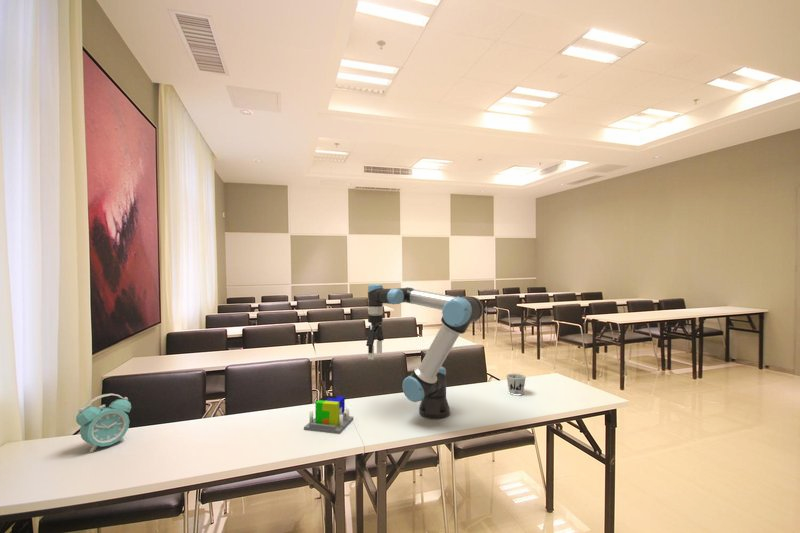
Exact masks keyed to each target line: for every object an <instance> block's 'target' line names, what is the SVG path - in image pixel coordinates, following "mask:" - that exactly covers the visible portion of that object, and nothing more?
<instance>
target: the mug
mask: <svg viewBox="0 0 800 533" xmlns="http://www.w3.org/2000/svg"><path fill="white" fill-rule="evenodd" d="M526 378H527V377H526V375H524V374H521V373H520V374H519V373H507V374H506V380H507V387H508V392H510V393H513V394H523V395H524V392H525V385H526V384H525V383H526ZM510 393H509V394H510Z"/></svg>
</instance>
